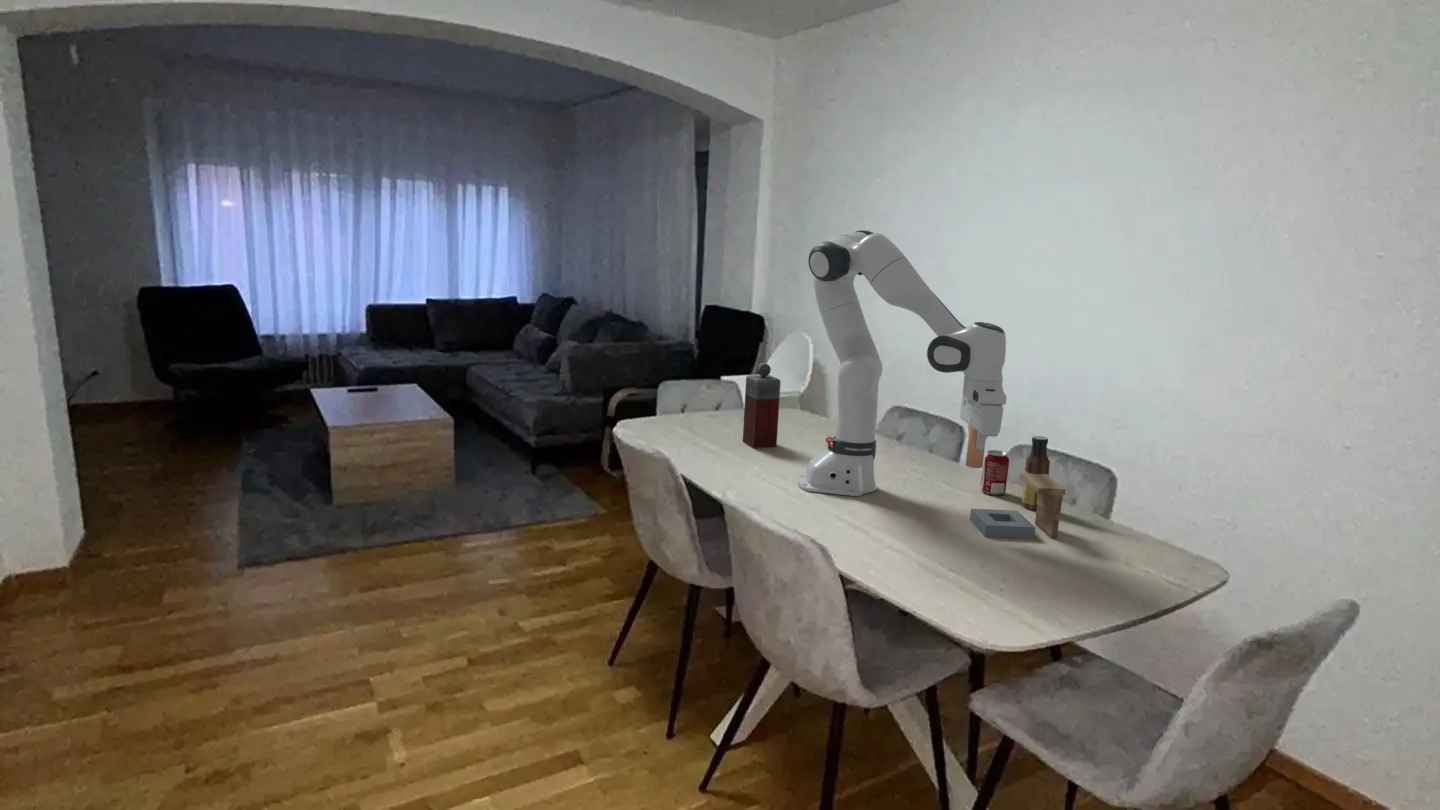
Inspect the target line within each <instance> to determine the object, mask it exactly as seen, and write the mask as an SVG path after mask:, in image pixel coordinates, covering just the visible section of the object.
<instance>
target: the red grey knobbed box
mask: <svg viewBox="0 0 1440 810" xmlns="http://www.w3.org/2000/svg"><path fill="white" fill-rule="evenodd" d="M771 371H772V369H771V366H770V365H769V364H768V363H765V362H761V363H759V364H758V365H757V368H756V372H757V374H752V375H751V374H750V375H747V376H746V377H745V391H744V393H745V395H744V408H743V410H744V411H743V430H742V443H743V442H744V443H743V444H745V445H746V446H748V447H750V448H751V449H767V448H777V445H778V429H779V428H778V427H779V412H780V411H779V410H780V400H781V399H780V398H781V397H780V395H781V383H782V382H781V380H780V379H779V378H778V377H775V376H773V375H770V373H771Z"/></svg>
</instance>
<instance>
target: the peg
mask: <svg viewBox="0 0 1440 810" xmlns="http://www.w3.org/2000/svg"><path fill="white" fill-rule="evenodd" d="M977 432H978V431H977V430H975V429H974V428H973V427H972V418H971V419H970V429H969V432H968V439H967V440H968V441H967V448H966V459H965V466H966V467H968V468H971V469H972V468H973V469H982V468H983V466H984V458H985V456H984V455H985V448H986V444H985V445H984V449H977V448H976V447H975V442H976V441H977V437H978V435H977Z"/></svg>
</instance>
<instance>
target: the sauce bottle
mask: <svg viewBox="0 0 1440 810" xmlns="http://www.w3.org/2000/svg"><path fill="white" fill-rule="evenodd" d="M1048 444H1049V437H1047V436H1046V437H1045V436H1042V435H1041V436H1040V435H1035V436H1032V437H1031V450H1030V453H1029V455H1028V456H1027V458H1026V460H1025V467H1024V468H1025V469H1024V474H1043V475H1047V476H1048V477H1050V466H1051V465H1050V464H1051V461H1050V459H1049V457H1048V454H1047V449H1048ZM1022 488H1023V489H1022V498H1021V499H1022V500H1021V501H1022V503H1021V505H1022V507H1023V508H1025V509H1027V510H1032V511H1037V504H1038V497H1039V494H1037V493H1036V492H1035V491H1034V490H1032V489H1031V488H1030V487H1029V486H1028V485H1026V484H1025V483H1024V482H1023V486H1022Z"/></svg>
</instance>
